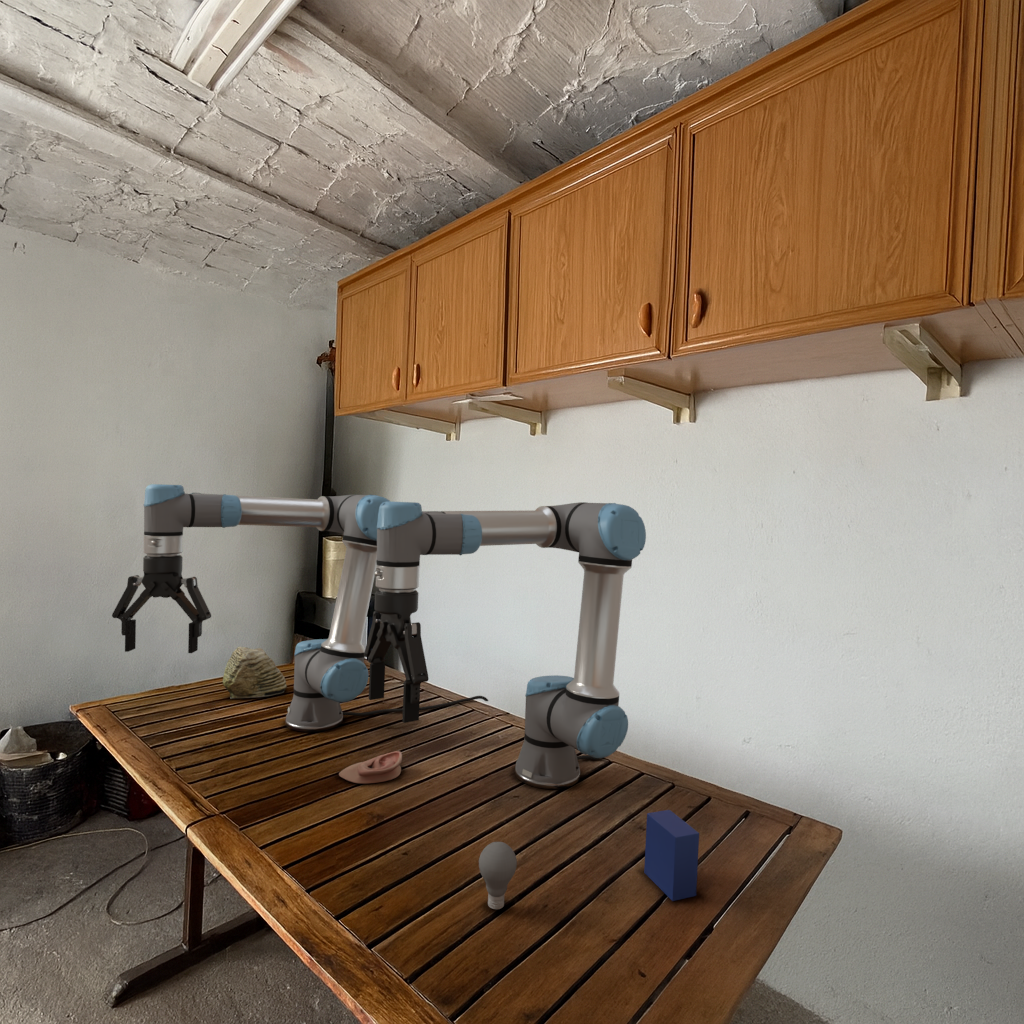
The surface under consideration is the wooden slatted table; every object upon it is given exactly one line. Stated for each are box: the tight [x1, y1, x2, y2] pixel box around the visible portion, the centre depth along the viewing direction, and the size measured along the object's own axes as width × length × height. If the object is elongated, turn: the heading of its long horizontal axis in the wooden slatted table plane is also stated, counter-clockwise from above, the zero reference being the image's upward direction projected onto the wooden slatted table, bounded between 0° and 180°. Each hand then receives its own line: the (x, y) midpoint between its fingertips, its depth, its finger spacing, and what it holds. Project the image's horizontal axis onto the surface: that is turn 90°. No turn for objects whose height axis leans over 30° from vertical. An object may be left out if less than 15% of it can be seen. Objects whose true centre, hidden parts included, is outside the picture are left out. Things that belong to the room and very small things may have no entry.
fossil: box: [222, 646, 288, 699], centre depth 198 cm, size 9×18×15 cm, turn 132°
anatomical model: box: [338, 750, 403, 784], centre depth 146 cm, size 13×4×12 cm
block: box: [643, 809, 700, 902], centre depth 108 cm, size 8×5×11 cm, turn 21°
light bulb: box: [478, 841, 518, 910], centre depth 100 cm, size 6×6×10 cm
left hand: (161, 651), depth 139 cm, fingers open, 13 cm apart
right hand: (392, 709), depth 112 cm, fingers open, 13 cm apart
